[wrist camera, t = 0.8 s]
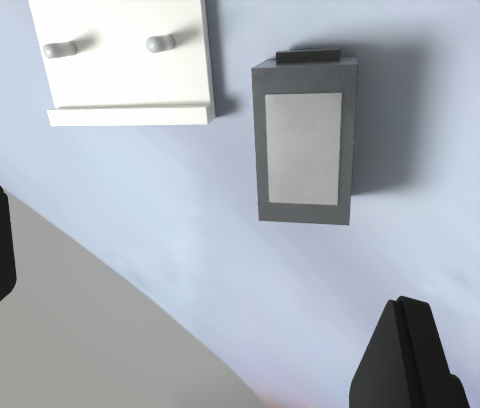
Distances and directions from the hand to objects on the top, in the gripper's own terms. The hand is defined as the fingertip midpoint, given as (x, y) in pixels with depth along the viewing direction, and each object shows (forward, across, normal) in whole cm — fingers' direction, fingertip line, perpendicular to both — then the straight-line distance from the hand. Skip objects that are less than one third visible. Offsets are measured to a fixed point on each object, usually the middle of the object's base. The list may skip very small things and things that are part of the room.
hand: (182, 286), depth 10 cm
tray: (+22, +14, -5) cm, 26 cm away
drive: (+22, -2, +2) cm, 22 cm away
